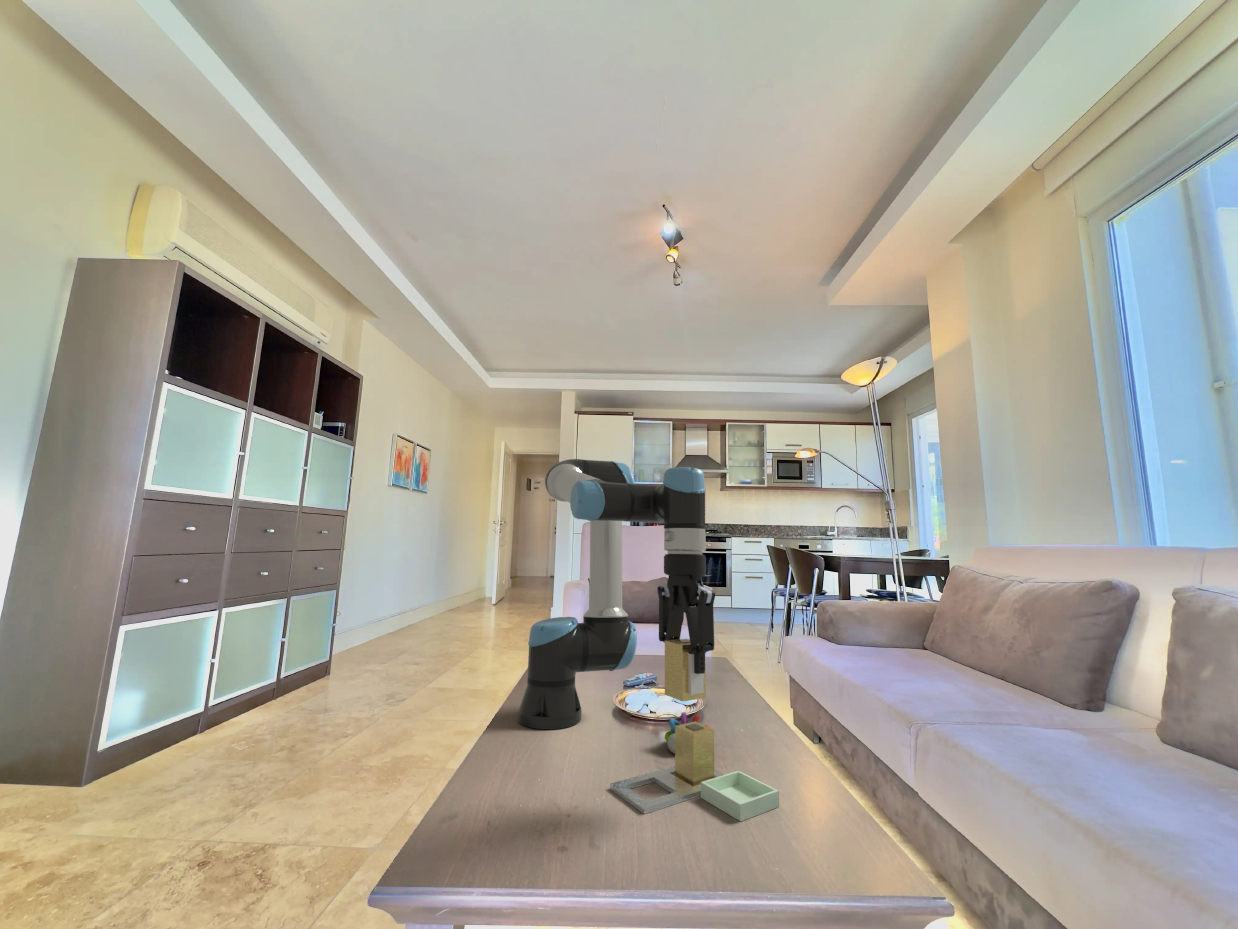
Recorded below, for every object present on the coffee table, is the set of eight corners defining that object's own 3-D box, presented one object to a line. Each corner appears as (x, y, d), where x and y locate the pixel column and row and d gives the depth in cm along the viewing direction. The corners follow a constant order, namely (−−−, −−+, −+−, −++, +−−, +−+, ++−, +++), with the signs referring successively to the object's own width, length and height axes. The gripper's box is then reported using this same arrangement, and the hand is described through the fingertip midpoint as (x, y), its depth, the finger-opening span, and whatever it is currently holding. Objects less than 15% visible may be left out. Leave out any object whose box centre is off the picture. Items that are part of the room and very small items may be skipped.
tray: (700, 797, 87) (700, 782, 87) (738, 785, 92) (738, 770, 92) (740, 821, 80) (740, 804, 80) (779, 806, 85) (779, 790, 85)
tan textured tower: (675, 778, 94) (675, 725, 96) (695, 772, 97) (695, 720, 98) (693, 789, 90) (693, 733, 92) (714, 782, 93) (714, 728, 94)
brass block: (664, 694, 90) (664, 639, 92) (687, 691, 93) (686, 637, 94) (682, 701, 86) (682, 644, 87) (705, 697, 88) (705, 641, 90)
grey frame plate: (610, 788, 90) (610, 783, 90) (696, 764, 100) (696, 760, 101) (644, 814, 81) (644, 808, 81) (734, 784, 92) (734, 779, 92)
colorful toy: (710, 760, 103) (710, 721, 104) (662, 755, 105) (662, 717, 106) (712, 745, 111) (711, 709, 112) (667, 740, 113) (667, 705, 114)
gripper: (639, 552, 99) (638, 680, 95) (701, 553, 84) (703, 705, 80) (670, 552, 103) (670, 676, 99) (735, 553, 88) (738, 699, 84)
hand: (685, 689), depth 89 cm, fingers closed on brass block, 5 cm apart
